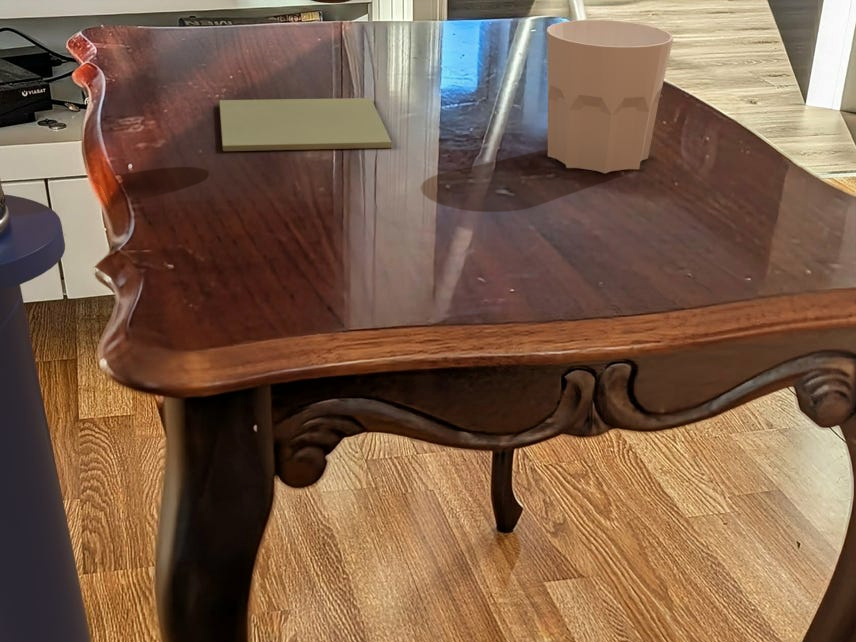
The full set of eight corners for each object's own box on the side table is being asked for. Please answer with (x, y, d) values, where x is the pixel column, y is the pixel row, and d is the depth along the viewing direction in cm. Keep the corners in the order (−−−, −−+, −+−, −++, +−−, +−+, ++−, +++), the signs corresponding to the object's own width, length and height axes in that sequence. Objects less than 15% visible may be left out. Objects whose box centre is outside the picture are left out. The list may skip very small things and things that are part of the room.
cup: (680, 169, 95) (697, 42, 90) (575, 181, 92) (586, 50, 86) (617, 135, 103) (630, 17, 97) (518, 146, 99) (525, 23, 93)
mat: (222, 151, 95) (222, 145, 94) (219, 105, 106) (219, 99, 106) (391, 147, 97) (391, 141, 97) (371, 103, 108) (370, 97, 108)
